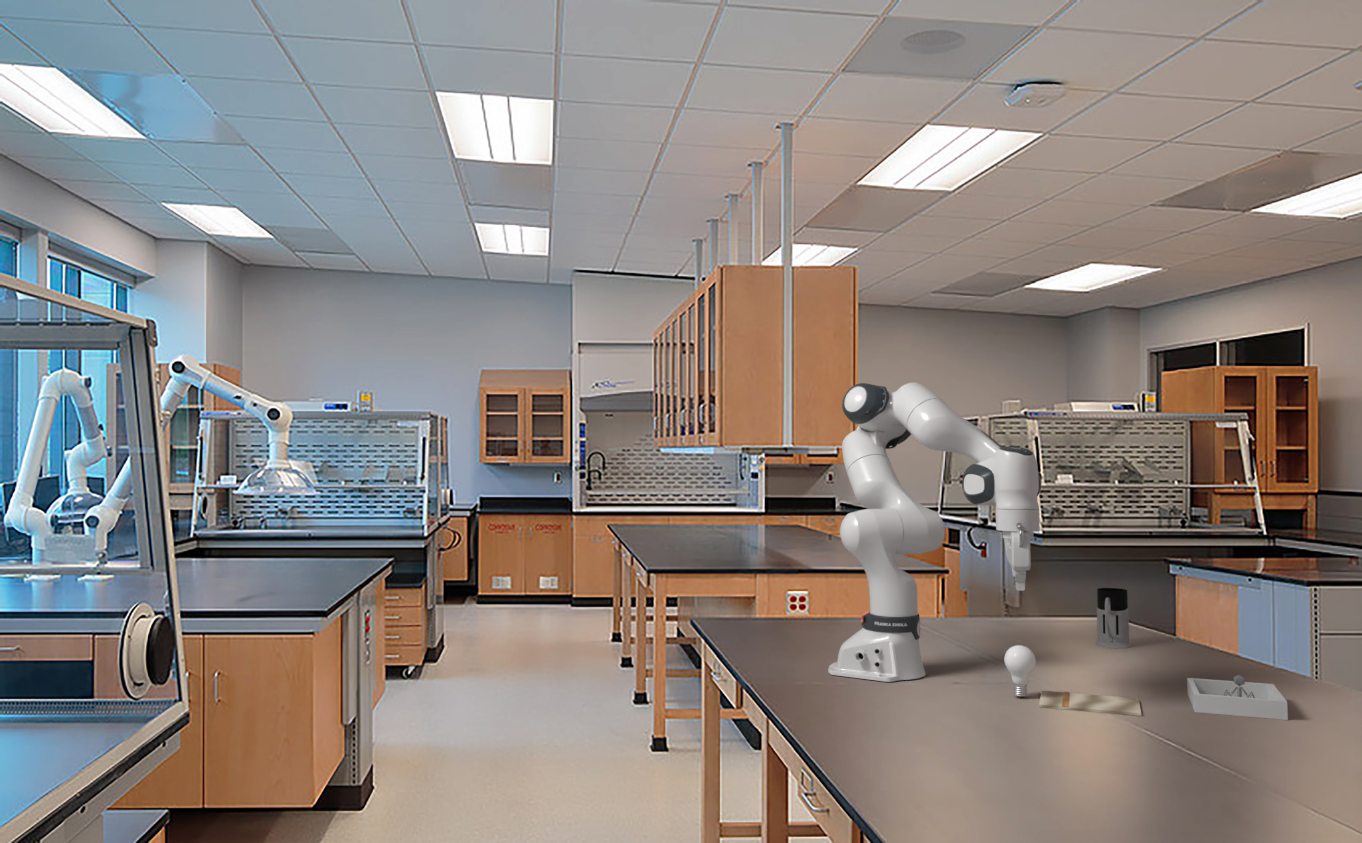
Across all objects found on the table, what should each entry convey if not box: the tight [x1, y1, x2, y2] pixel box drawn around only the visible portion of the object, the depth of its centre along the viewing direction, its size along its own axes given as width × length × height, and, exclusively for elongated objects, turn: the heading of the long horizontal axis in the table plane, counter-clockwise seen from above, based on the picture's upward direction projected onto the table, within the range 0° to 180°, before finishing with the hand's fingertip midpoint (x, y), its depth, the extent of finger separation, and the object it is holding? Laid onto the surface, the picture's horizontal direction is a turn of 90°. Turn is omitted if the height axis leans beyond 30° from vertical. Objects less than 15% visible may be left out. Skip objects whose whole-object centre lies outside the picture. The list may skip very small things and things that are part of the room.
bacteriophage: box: [1224, 674, 1255, 698], centre depth 201 cm, size 7×8×7 cm
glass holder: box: [1095, 587, 1132, 650], centre depth 264 cm, size 9×14×15 cm, turn 148°
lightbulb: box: [1003, 644, 1037, 699], centre depth 210 cm, size 6×6×11 cm
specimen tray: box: [1186, 677, 1289, 721], centre depth 201 cm, size 16×16×4 cm
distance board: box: [1038, 690, 1142, 717], centre depth 204 cm, size 19×13×1 cm
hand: (1018, 587), depth 210 cm, fingers open, 8 cm apart
